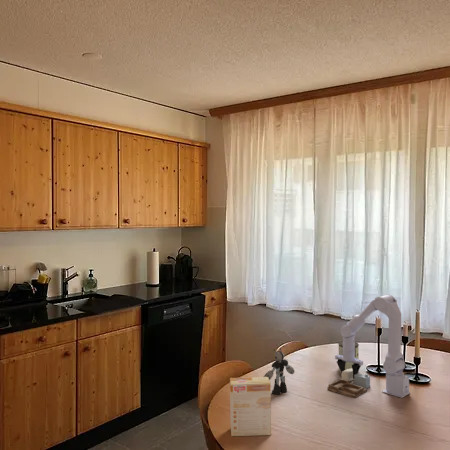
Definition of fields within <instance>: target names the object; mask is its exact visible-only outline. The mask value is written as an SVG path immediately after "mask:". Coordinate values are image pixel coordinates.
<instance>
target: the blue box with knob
mask: <svg viewBox="0 0 450 450" xmlns="http://www.w3.org/2000/svg"><path fill="white" fill-rule="evenodd" d="M353 381H354V385H357V386H360V387H363V388H365V389H368V388H370V387H371V376H369V374H368V373H365V374H363V373H359V372H358V374H356V375H354V380H353Z"/></svg>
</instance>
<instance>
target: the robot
mask: <svg viewBox="0 0 450 450" xmlns="http://www.w3.org/2000/svg"><path fill="white" fill-rule="evenodd" d="M273 354H274V362H273V363H272V364H271V368H272V369H271V370H268V371H267V372H265V374H264V375H263V377H268V378H269V381H271V379H272V378H273V377H274V374H275V378H274V385H273V389H272V390H271V394H272V395H274V396H281V394H286V393H287V392H288V388H287V384H286V376H285V375H284V370H285V371H286V372H287V373H288V374H290V375H293V374H295V369H294V367H293V366H292V365H290V364H289V361H288V360H287V359H284V358H285V357H286V355H285V353H283V351H282V348H281V347H280V348H279V350H278V351H276V350H275V349H273ZM274 372H275V373H274ZM279 383H280V384H279Z"/></svg>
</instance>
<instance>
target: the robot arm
mask: <svg viewBox="0 0 450 450" xmlns="http://www.w3.org/2000/svg"><path fill="white" fill-rule="evenodd" d="M376 311H379V312H380V313H382V314H384V315H385V316H386V317H387V318H388V327H387V329H388V334H387V335H388V336H387V337H388V338H387V353H386V355H385V357H384V358H385V360H384V362H383V364H382V367H383V368H382V369H383V371H384V372H385V386H386V387H385V389H384V390H382V393H384V394H388V395H391V396H394V397H396V398H397V397H398V398H405V397H406V396H407V395H409V394H410V379H409V376H407V375H405V374H404V372H403V371H404V369H405V368H406V362H405V359H404V354H403V353H402V352H401V351H402V350H401V346H402V345H401V344H402V312H401V310H400V308H399V305H398V300H397V299H396V298H395V297H394V296H393V294H392V295H391V294H385V295H382V296H377V297H375V298H374V299H372V301H371V302H370V303H369V304H368V305H367V306H366V308H364V309H363V311H361V313H360V314H355V315H352V317H351V319H350V320H349V321H347V322H346V324H345V325H342V326H341V328H340V329H339V331H340V335H341V337H342V341H343V355H339V354H335V355H334V359H335V360H337V361H336V364H337V365H338V369H339V368H340V370H339V371H340V374H341V376H342V371H344V370H345V364H346V362H350V363H354V364H353V365H352V370H353V379H354V375H356V374H358V373H359V372H360V370H361V369H360V368H361V367H362V366H363V365H364V361H363V360H361V359H356V358H355V342H356V341H355V339H356V335H357V333H358V331H359V330H360V329H361V328H362V327H363V326H364V325H365V324H366V320H367V319H368V318H369V317H370V316H371V315H372V314H373V313H374V312H376Z"/></svg>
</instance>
